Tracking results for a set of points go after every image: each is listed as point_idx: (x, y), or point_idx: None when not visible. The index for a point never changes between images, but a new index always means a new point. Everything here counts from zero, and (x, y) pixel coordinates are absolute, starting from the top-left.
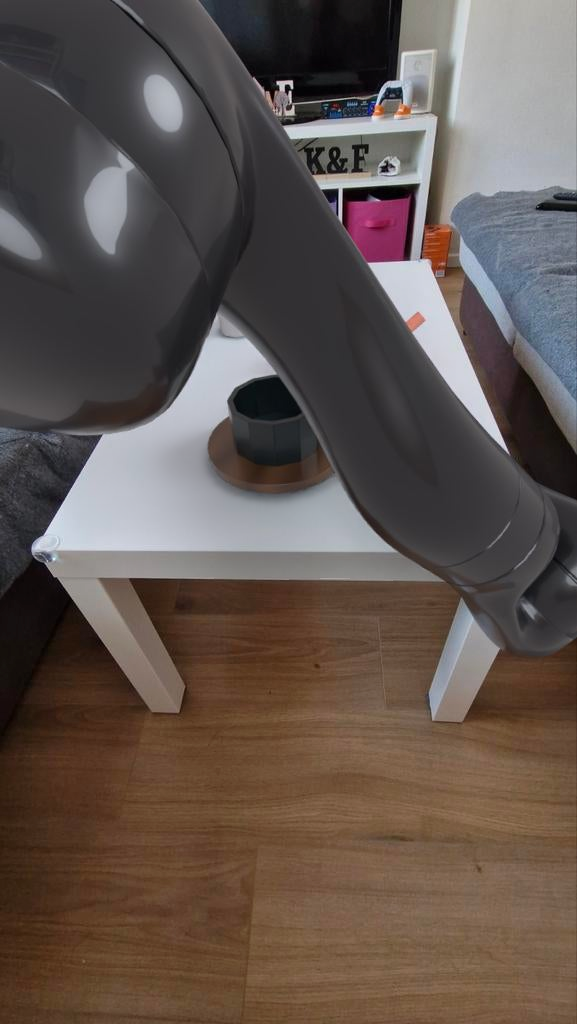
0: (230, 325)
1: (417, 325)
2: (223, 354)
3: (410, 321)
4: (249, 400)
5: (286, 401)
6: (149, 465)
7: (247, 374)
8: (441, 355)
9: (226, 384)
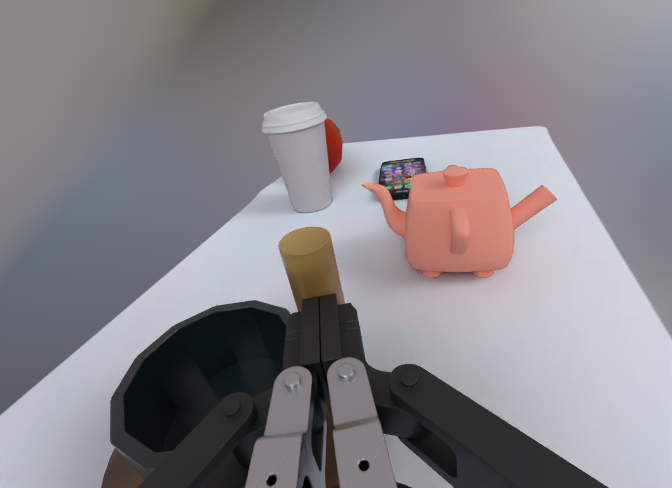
0: (297, 200)
1: (541, 207)
2: (279, 234)
3: (528, 200)
4: (208, 343)
5: (278, 346)
6: (60, 428)
7: None
8: (585, 250)
9: (257, 279)
